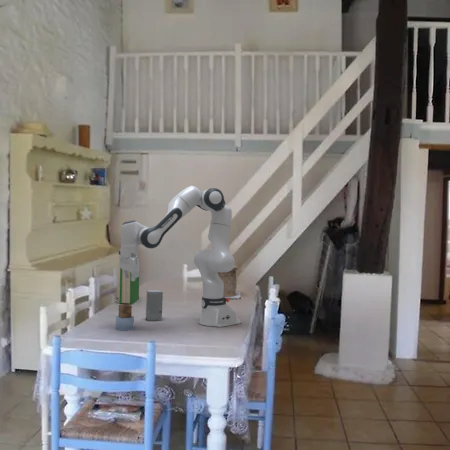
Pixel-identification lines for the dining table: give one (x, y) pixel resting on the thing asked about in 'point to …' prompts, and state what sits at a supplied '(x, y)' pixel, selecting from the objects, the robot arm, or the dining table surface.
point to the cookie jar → (230, 284)
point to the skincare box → (154, 305)
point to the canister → (124, 323)
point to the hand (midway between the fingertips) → (129, 279)
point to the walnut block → (125, 311)
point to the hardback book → (128, 288)
